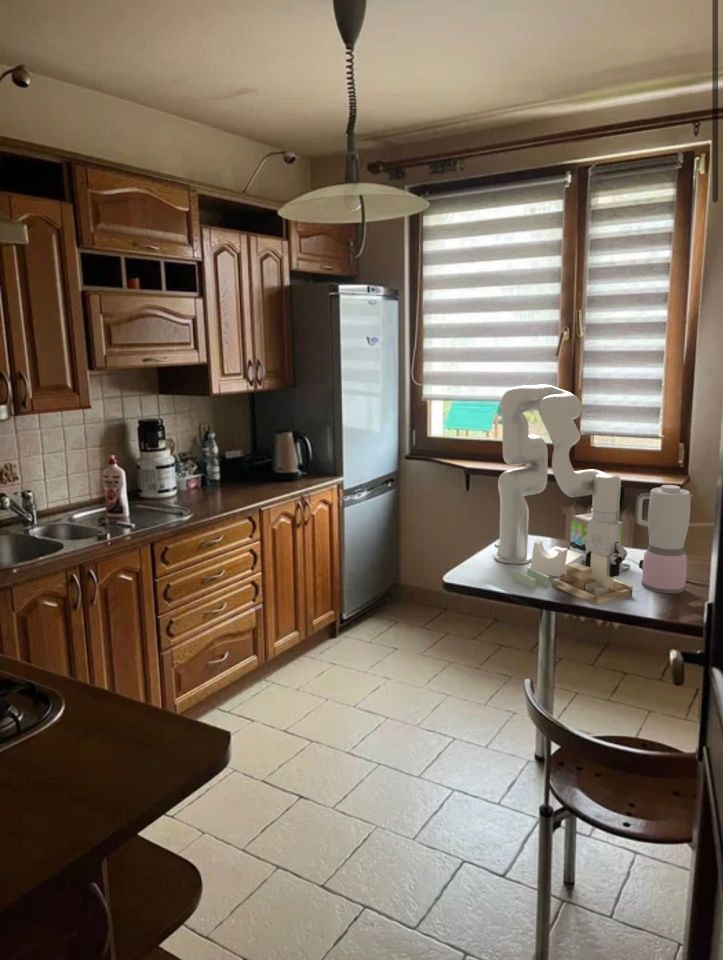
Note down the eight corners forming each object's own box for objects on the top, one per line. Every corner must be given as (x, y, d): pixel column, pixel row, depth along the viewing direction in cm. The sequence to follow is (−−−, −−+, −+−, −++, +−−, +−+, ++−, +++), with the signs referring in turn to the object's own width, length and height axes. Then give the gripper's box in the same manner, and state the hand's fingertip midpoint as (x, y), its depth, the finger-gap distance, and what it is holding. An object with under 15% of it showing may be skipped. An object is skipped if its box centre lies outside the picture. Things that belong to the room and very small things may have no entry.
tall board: (589, 585, 216) (592, 538, 213) (596, 584, 217) (599, 537, 214) (605, 592, 210) (608, 543, 207) (612, 590, 212) (615, 542, 209)
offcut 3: (584, 595, 208) (585, 584, 207) (596, 593, 209) (596, 582, 209) (596, 601, 203) (597, 590, 203) (607, 599, 205) (608, 588, 204)
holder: (510, 583, 222) (511, 571, 222) (530, 579, 226) (531, 567, 225) (531, 593, 214) (532, 580, 213) (552, 588, 217) (552, 576, 216)
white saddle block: (558, 582, 224) (563, 551, 222) (529, 573, 230) (534, 543, 228) (581, 567, 238) (585, 538, 235) (553, 559, 244) (557, 530, 241)
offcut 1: (566, 574, 214) (566, 565, 214) (574, 572, 216) (575, 562, 216) (582, 580, 209) (583, 570, 209) (591, 577, 212) (591, 567, 211)
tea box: (568, 555, 249) (570, 515, 246) (590, 552, 253) (592, 511, 250) (599, 568, 236) (601, 525, 233) (622, 564, 240) (624, 521, 237)
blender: (690, 588, 216) (699, 485, 209) (678, 600, 207) (687, 493, 200) (638, 578, 226) (644, 479, 219) (624, 588, 217) (631, 486, 210)
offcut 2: (561, 585, 217) (562, 572, 216) (573, 582, 219) (573, 570, 218) (583, 594, 209) (583, 581, 208) (594, 592, 211) (595, 579, 210)
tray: (552, 588, 217) (552, 575, 216) (586, 581, 223) (587, 568, 222) (595, 608, 201) (596, 594, 200) (631, 600, 207) (632, 586, 207)
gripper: (574, 511, 215) (571, 565, 219) (618, 524, 200) (614, 582, 203) (593, 508, 218) (590, 561, 222) (637, 521, 203) (633, 578, 207)
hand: (601, 571), depth 213 cm, fingers open, 9 cm apart
